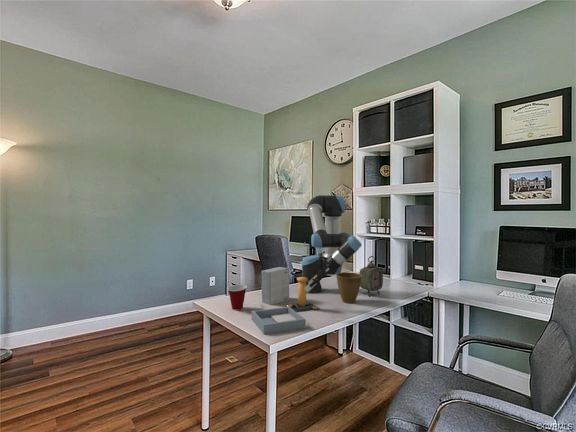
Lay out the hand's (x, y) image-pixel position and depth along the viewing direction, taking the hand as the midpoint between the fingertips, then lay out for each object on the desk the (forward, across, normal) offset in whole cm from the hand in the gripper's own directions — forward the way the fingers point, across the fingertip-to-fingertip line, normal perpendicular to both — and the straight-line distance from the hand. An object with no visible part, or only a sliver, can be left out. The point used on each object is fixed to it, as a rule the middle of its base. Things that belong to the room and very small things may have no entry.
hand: (307, 287), depth 163 cm
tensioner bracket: (+12, +1, -7) cm, 14 cm away
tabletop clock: (-15, +43, -34) cm, 57 cm away
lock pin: (+10, +1, -6) cm, 12 cm away
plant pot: (-5, +24, -24) cm, 35 cm away
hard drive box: (+24, +10, +5) cm, 26 cm away
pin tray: (+18, -20, -1) cm, 27 cm away
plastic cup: (+37, -4, +18) cm, 41 cm away
